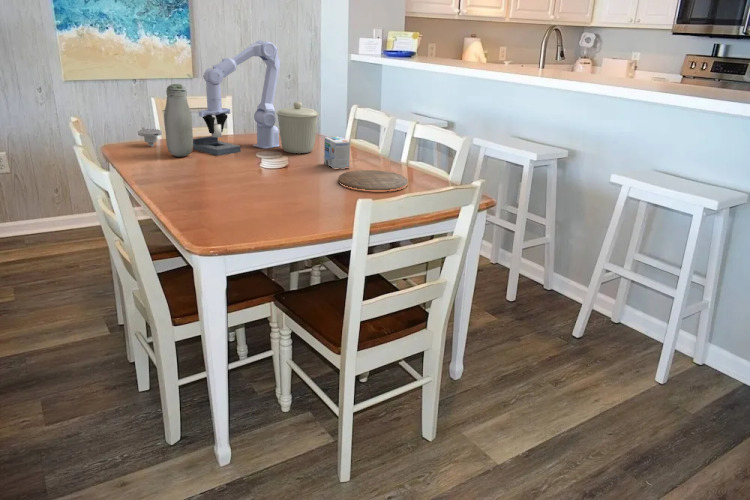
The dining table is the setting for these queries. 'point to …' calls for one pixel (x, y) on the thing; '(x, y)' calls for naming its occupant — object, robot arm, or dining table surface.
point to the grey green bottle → (178, 121)
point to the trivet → (372, 180)
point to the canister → (297, 128)
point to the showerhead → (150, 135)
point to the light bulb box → (336, 152)
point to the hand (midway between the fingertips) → (215, 132)
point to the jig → (214, 146)
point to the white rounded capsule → (217, 130)
